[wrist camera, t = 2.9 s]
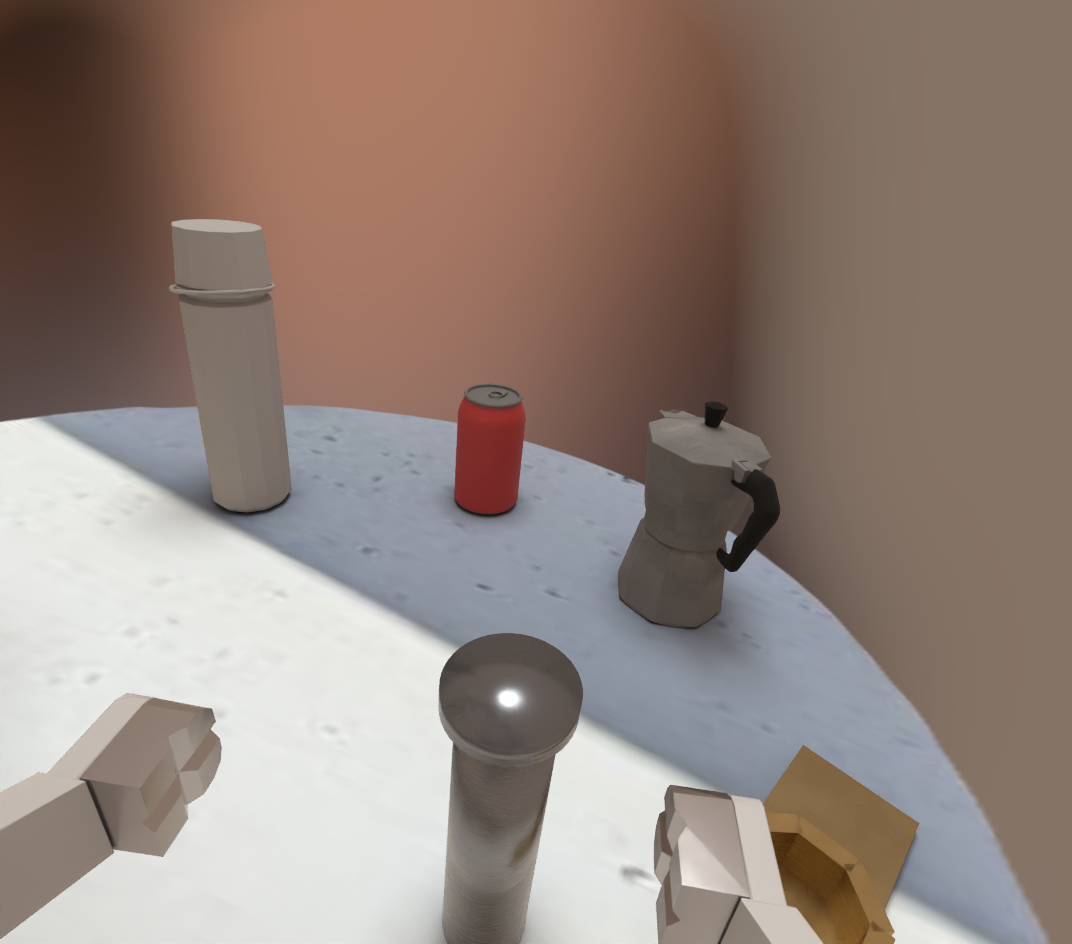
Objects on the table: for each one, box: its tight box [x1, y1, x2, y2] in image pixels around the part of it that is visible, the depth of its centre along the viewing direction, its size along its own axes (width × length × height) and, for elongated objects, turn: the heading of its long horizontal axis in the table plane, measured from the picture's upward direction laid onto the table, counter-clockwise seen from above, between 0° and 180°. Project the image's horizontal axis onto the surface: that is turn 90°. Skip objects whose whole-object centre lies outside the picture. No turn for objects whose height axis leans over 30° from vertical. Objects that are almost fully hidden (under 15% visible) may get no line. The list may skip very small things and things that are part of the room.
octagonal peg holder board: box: [763, 745, 919, 944], centre depth 29 cm, size 23×8×4 cm, turn 136°
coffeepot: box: [618, 401, 780, 628], centre depth 48 cm, size 15×9×18 cm, turn 18°
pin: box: [439, 633, 583, 944], centre depth 26 cm, size 5×5×16 cm
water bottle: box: [169, 219, 291, 512], centre depth 54 cm, size 9×8×25 cm
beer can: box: [454, 384, 526, 515], centre depth 61 cm, size 7×7×12 cm
